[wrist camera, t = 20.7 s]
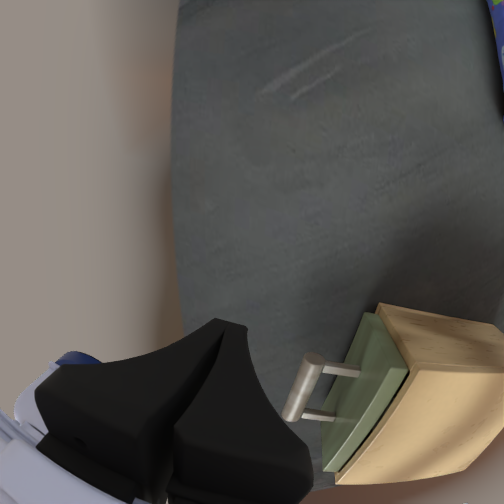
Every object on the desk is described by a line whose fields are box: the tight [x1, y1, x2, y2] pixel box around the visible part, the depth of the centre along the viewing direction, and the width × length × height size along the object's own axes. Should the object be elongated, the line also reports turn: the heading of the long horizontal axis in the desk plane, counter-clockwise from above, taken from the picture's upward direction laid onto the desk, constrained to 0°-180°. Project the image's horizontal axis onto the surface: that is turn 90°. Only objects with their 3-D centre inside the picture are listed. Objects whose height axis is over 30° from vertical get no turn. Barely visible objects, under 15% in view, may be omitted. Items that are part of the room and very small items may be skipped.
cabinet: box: [335, 303, 504, 484], centre depth 16 cm, size 13×11×8 cm
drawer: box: [281, 312, 410, 472], centre depth 16 cm, size 16×10×7 cm, turn 79°
